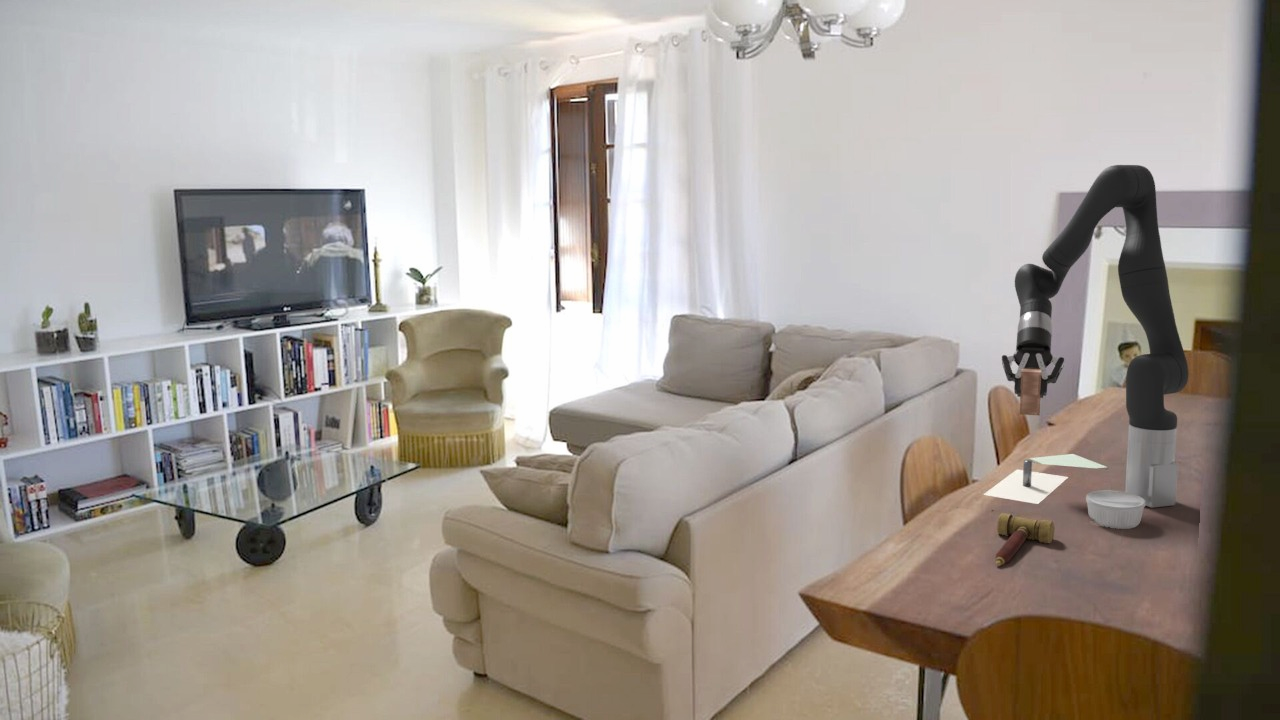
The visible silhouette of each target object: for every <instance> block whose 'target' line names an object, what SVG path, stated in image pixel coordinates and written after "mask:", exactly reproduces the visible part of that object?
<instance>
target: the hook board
mask: <svg viewBox="0 0 1280 720" xmlns="http://www.w3.org/2000/svg"><path fill="white" fill-rule="evenodd" d="M1022 466H1023V469H1017V468H1016V469H1015V470H1014V471H1013V472H1011V473H1010V474H1009V475H1007V476H1005V478H1004V479H1002V480H1001V481H999V482H998V483H997V484H995V486H992V488H990V489H989V490H986V492H985V493H983V494H982V495H983V496H987V497H988V496H989V497H994V498H1000V499H1004V500H1010V501H1016V502H1021V503H1027V504H1033V505H1039V504H1040V503H1041V502H1043V501H1044V500H1045V499H1046V498H1047V497H1048V496H1049V495H1051V494H1052V492H1054V491H1055V490H1057V488H1058V487H1059V486H1060V485H1062V484H1063V483H1064V482H1065V481H1066V480H1067V479H1069V476H1063V475H1056V474H1049V473H1044V472H1037V471H1032V470H1033V461H1031V460H1029V459H1024V460H1023V465H1022Z"/></svg>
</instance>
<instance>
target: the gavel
mask: <svg viewBox="0 0 1280 720" xmlns="http://www.w3.org/2000/svg"><path fill="white" fill-rule="evenodd" d="M998 516H999V517H998V520H997V524H996V530H997V534H998V535H999V534H1002V535H1001V536H1003V535H1009V538H1008V539H1007V540H1006V541H1005V543H1004V544H1003V545H1002V546H1001V548H1000V549H999V550H998V551H997V553H996V555H995V565H996V566H997V567H1001V566H1003V565H1006V564H1008V563H1009V562H1011V560H1012V558H1013V557H1014V556H1015V554H1016V553H1017V552H1018V551H1019V549H1020V548H1021V547H1022V545H1023V544H1024V542H1025V541H1026V540H1031V539H1032V540H1031V541H1035V540H1037V541H1038V542H1039V543H1042V542H1044V543H1043V544H1047V543H1050V542H1051V541H1052V539H1053V540H1054V537H1055V529H1056V528H1055V523H1054V522H1053V520H1047V519H1042V520H1040V521H1039V520H1036V519H1030V518H1024V517H1019V516H1015V517H1014V516H1013V514H1009V513H1005V512H1001V513H1000V515H998ZM1026 538H1027V539H1026ZM1052 542H1053V541H1052ZM1052 542H1051V543H1052ZM1051 543H1050V544H1051Z"/></svg>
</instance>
